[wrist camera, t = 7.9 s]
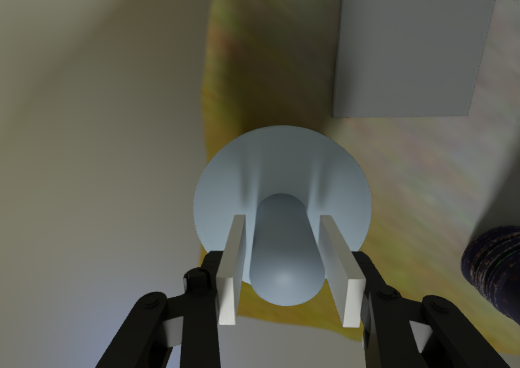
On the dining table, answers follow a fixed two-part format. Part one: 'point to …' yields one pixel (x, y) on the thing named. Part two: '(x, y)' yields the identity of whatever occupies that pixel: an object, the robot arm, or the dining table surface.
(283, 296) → the lid
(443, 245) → the dining table surface
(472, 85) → the mat
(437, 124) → the dining table surface
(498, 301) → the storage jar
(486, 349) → the robot arm
